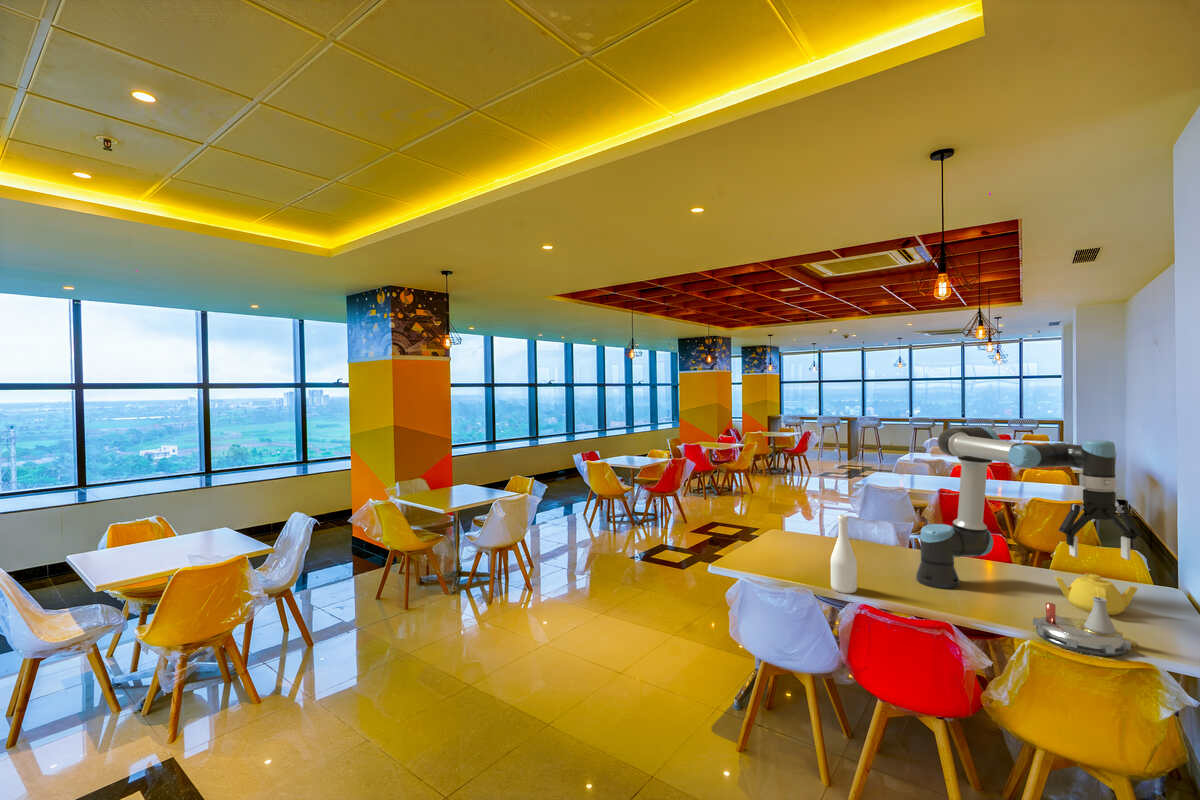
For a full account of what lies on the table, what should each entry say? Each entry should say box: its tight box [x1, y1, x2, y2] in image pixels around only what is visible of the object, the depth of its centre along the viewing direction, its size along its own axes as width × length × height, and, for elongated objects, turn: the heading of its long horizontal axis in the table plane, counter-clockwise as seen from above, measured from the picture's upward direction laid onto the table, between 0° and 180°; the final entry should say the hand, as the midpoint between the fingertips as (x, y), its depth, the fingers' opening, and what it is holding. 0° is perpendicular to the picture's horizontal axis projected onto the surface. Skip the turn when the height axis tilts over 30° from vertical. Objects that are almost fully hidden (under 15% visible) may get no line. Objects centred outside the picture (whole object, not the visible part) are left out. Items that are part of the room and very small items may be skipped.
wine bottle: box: [830, 514, 858, 594], centre depth 211 cm, size 10×10×30 cm
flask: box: [1084, 597, 1117, 635], centre depth 164 cm, size 7×7×10 cm
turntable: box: [1032, 602, 1132, 653], centre depth 166 cm, size 23×23×8 cm
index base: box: [1036, 626, 1138, 658], centre depth 165 cm, size 24×21×1 cm
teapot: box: [1054, 572, 1138, 616], centre depth 190 cm, size 17×17×12 cm
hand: (1099, 557), depth 164 cm, fingers open, 13 cm apart
